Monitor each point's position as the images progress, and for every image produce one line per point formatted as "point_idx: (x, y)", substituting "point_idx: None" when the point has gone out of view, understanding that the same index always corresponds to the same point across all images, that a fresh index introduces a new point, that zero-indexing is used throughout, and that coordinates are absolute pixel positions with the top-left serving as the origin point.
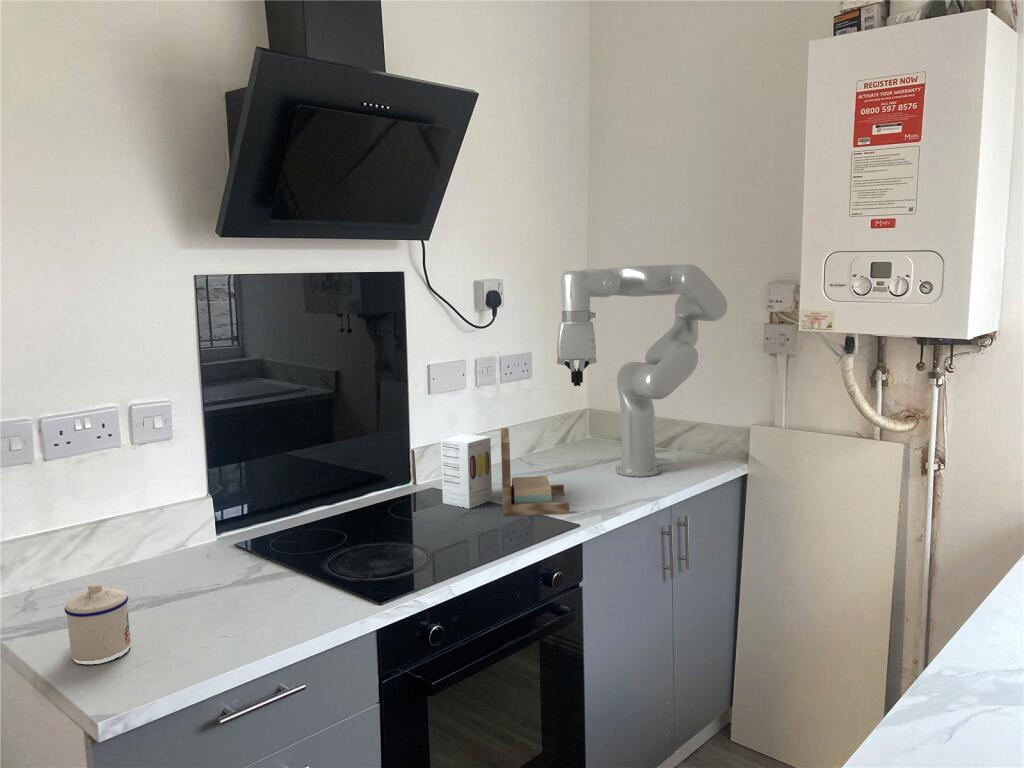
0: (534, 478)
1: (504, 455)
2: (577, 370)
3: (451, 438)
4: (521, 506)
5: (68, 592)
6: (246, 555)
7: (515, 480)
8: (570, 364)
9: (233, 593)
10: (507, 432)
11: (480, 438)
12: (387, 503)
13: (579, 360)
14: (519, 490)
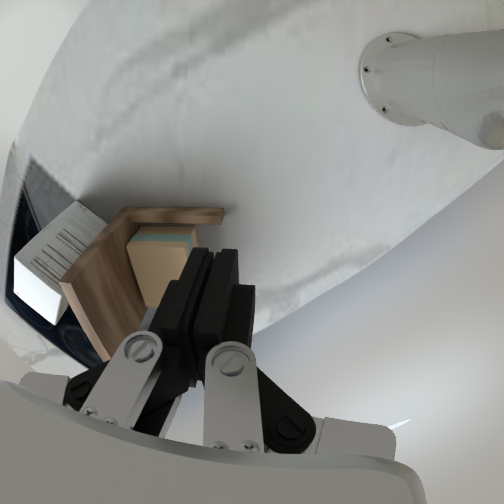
0: (164, 258)
1: None
2: (200, 339)
3: (21, 292)
4: None
5: (6, 336)
6: (23, 321)
7: (135, 264)
8: (136, 424)
9: (57, 361)
10: (86, 318)
11: (54, 304)
12: (20, 226)
13: (203, 437)
14: (153, 306)
